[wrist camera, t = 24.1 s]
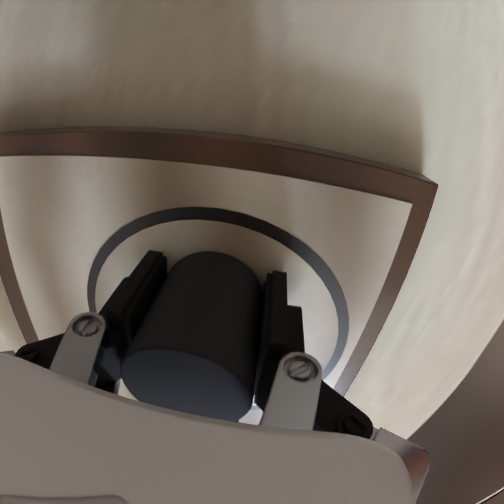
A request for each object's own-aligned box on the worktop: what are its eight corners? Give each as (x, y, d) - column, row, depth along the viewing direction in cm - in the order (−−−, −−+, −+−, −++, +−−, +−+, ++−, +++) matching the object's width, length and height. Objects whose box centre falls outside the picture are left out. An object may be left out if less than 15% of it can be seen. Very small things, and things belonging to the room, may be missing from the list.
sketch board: (48, 359, 20) (39, 373, 18) (-6, 133, 11) (-27, 140, 10) (316, 419, 20) (318, 437, 18) (423, 174, 11) (441, 185, 9)
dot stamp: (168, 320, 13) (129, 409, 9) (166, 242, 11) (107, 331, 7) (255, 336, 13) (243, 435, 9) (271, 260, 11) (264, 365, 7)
